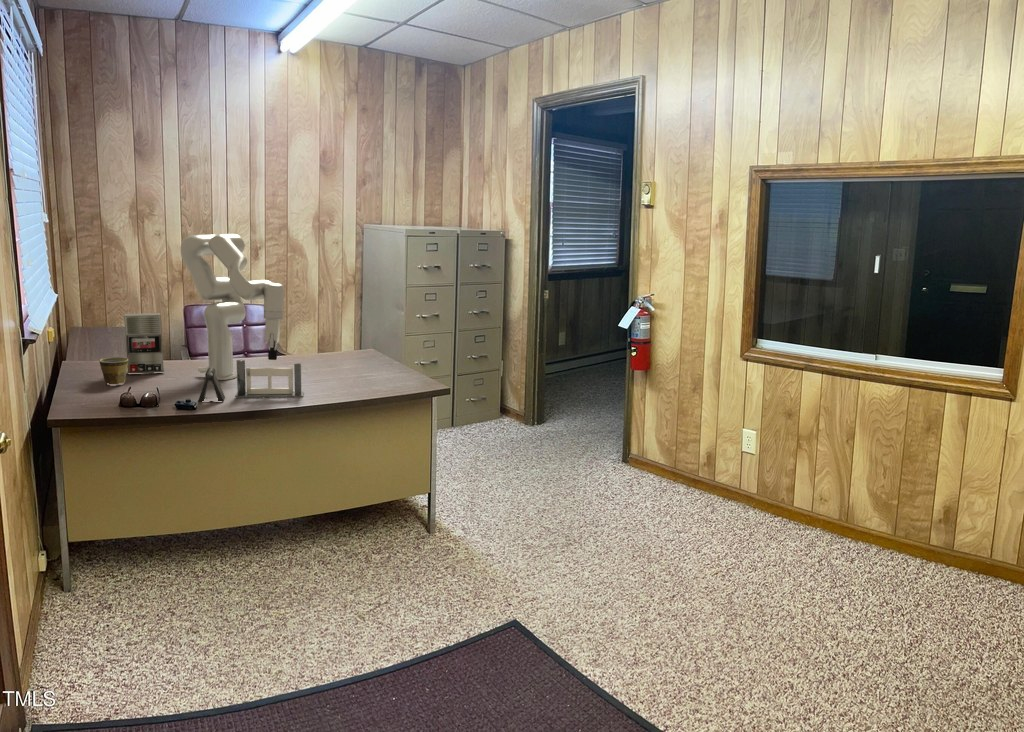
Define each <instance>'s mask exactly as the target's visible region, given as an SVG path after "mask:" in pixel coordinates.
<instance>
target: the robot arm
mask: <svg viewBox="0 0 1024 732" xmlns="http://www.w3.org/2000/svg"><path fill="white" fill-rule="evenodd" d="M245 247H246V245H245V241H244V239H243V238H242V237H241V236H240V235H239V234H236V233H221V234H220V233H218V234H217V233H216V234H213V233H212V234H193V235H189V236H186V237H184V238H183V240H182V241H181V244H180V255H181V258H182V259H181V260H182V261H183V263H184V265H185V266H186V268H187V270H188V271H189V273H190V276H191V278H192V281H193V283H194V286H195V288H196V290H197V293H198V295H199V297H200V298H201V300H202V301H205V302H212V303H210V304H208V305H206V307H205V308H204V310H203V318H204V322H205V325H206V332H207V353H208V366H206V367H202V366H199V367H197V372H198V373H202V374H203V373H205V374H206V372H207V370H208V368H210V370H209V372H208V373H209V374H210V375H213V373H212V372H211V370H212V368H214V369H215V370H216V373H215V374H216V377H217V380H218V381H227V380H233V379H237V371H236V372H235V371H234V362H233V361H234V358H233V357H234V355H233V335H232V332H231V330H230V328H229V326H228V325H231V324H237V323H240V322H242V321H243V320H245V318H246V314H247V313H246V312H247V311H246V308H245V304H244V301H243V300H245V301H256V300H263V319H265V330H264V344H268V351H267V353H268V354H267V355H268V356H267V359H268V360H269V361H276V360H277V358H278V349H277V347H278V343H279V340H280V333H281V320H284V305H285V287H284V285H283V284H282V283H278V282H277V283H276V282H274V281H273V282H272V281H270V280H268V279H255V280H248V279H247V278H245V277H244V275H243V274H242V271H243V270H244V269H245V268H246V266H247V264H248V259H247V257H246V255H244V254H243V252H244V251H245V249H246V248H245ZM212 255H213V256H215V257H216V258H217V259H218V260H219V261H220V263H222V265H223V266H224V267H225V268H226V269H227V270H228V277H227V276H219V277H217V276H216V275H215V274H214V271H213V268H212V266H211V265H210V263H209V262H208V261H207V260H206V259H205V258H203V256H212ZM242 299H243V300H242ZM213 301H216V302H213ZM204 377H205V379H206V376H205V375H204Z"/></svg>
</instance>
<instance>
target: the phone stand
mask: <svg viewBox="0 0 1024 732" xmlns="http://www.w3.org/2000/svg"><path fill="white" fill-rule="evenodd" d="M209 370H210V368H208V370H207V372H205V374H204V377H205V376H206V378H205V381H204V382H203V386H202V389H201V392H200V395H199V397H198V400H197V403H198V402H202V401H204V399H205V398H206V394H207V390H208V386H209V383H210V381H211V383H212V387H213V389H214V392H215V395H216V397H217V398H218V401H225V399H226V396H225V394H224V391H223V388H222V387H221V384H220V382H219V380H217V377H216V374H215V373H216V370H215V369H214V368H212V370H211V372H212V373H213V375H210V374H209V373H208V372H209Z"/></svg>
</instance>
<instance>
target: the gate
mask: <svg viewBox="0 0 1024 732" xmlns="http://www.w3.org/2000/svg"><path fill="white" fill-rule="evenodd" d="M293 370H294V369H293V367H245V383H246V392H247V394H293V392H294V379H293V378H294V377H293V376H294V375H293V374H294V373H293V372H294V371H293ZM252 377H267V387H252ZM272 377H288V379H287V381H288V387H273V385H272V384H273V383H272V382H273V380H272Z"/></svg>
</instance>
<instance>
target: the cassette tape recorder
mask: <svg viewBox="0 0 1024 732" xmlns="http://www.w3.org/2000/svg"><path fill="white" fill-rule="evenodd" d="M123 317H124V318H123V319H124V331H125V348H126V350H125V352H126V358H127V359H128V366H127V371H126V374H127V373H154V372H164V373H165V367H164V353H163V351H164V349H163V333H162V332H163V331H162V330H163V329H162V315H161V312H158V313H157V312H152V313H149V312H148V313H124V315H123Z"/></svg>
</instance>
